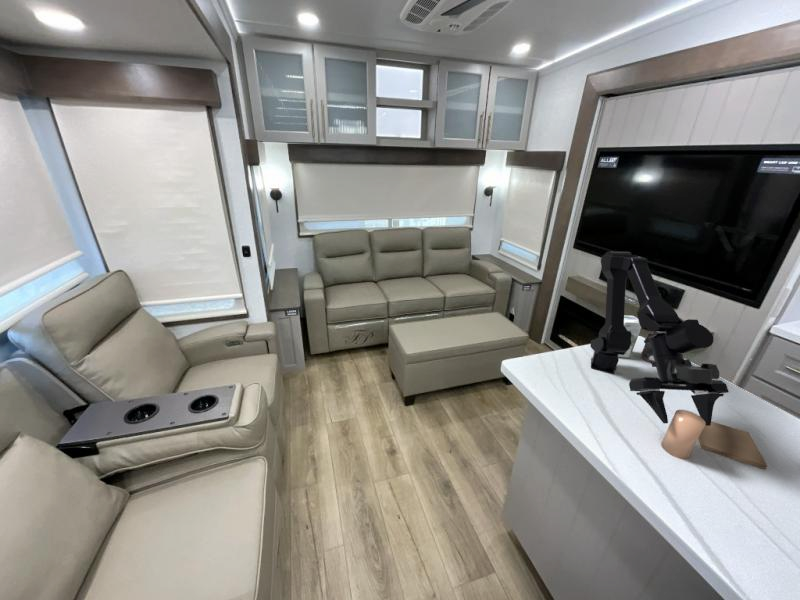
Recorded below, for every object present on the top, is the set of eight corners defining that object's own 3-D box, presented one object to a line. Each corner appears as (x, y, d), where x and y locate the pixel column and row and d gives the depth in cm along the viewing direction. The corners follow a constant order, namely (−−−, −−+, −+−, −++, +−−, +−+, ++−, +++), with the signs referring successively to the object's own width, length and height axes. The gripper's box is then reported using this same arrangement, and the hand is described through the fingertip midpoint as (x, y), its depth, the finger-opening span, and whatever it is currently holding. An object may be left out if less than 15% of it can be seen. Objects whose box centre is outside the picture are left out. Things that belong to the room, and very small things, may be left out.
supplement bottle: (655, 365, 105) (667, 337, 101) (636, 357, 110) (647, 329, 106) (665, 361, 108) (676, 332, 103) (646, 352, 113) (656, 325, 108)
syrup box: (621, 349, 115) (633, 314, 109) (630, 358, 109) (643, 322, 103) (605, 348, 115) (616, 314, 109) (613, 357, 110) (625, 321, 104)
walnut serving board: (700, 448, 75) (702, 444, 74) (690, 419, 83) (692, 415, 83) (765, 469, 69) (767, 465, 69) (746, 435, 78) (748, 432, 78)
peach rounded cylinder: (662, 452, 74) (677, 420, 70) (659, 437, 78) (673, 406, 74) (691, 462, 71) (708, 430, 67) (686, 446, 75) (702, 414, 71)
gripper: (651, 348, 70) (670, 422, 64) (739, 351, 69) (766, 427, 63) (621, 358, 81) (635, 422, 75) (697, 361, 79) (717, 426, 74)
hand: (686, 424), depth 71 cm, fingers open, 9 cm apart
